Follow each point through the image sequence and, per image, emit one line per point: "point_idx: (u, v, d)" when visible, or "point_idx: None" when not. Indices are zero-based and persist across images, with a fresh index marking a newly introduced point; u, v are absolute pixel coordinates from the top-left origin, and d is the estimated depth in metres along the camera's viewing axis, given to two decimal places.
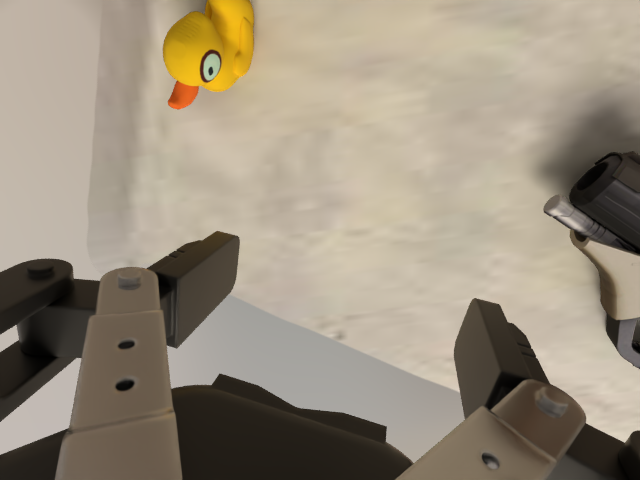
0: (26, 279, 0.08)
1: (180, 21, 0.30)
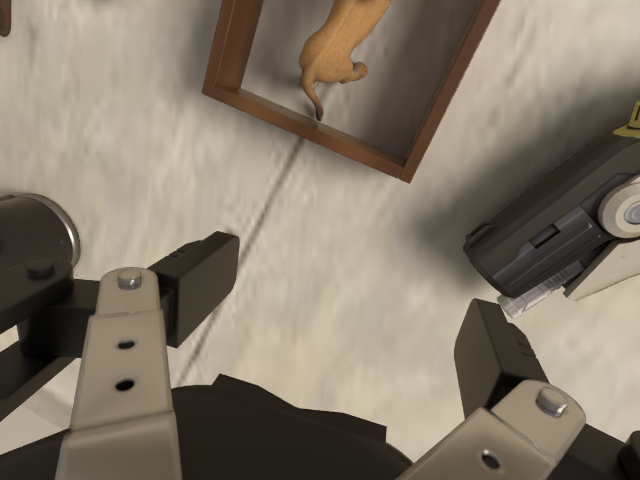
0: (27, 279, 0.08)
1: None
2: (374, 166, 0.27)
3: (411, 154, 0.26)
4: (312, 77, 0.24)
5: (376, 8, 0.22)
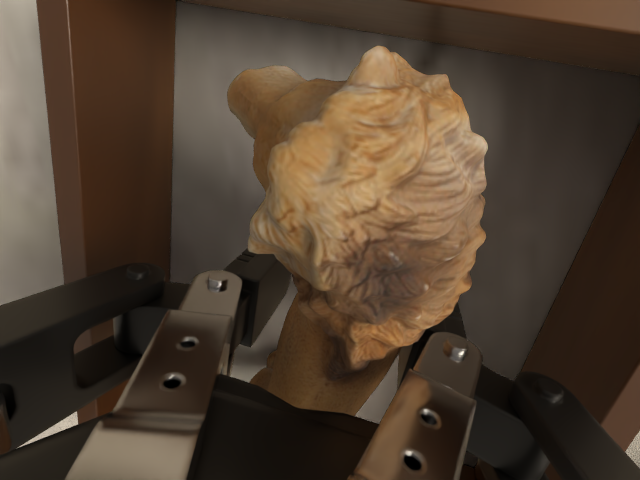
0: (124, 280, 0.09)
1: None
2: None
3: None
4: None
5: (378, 376, 0.09)
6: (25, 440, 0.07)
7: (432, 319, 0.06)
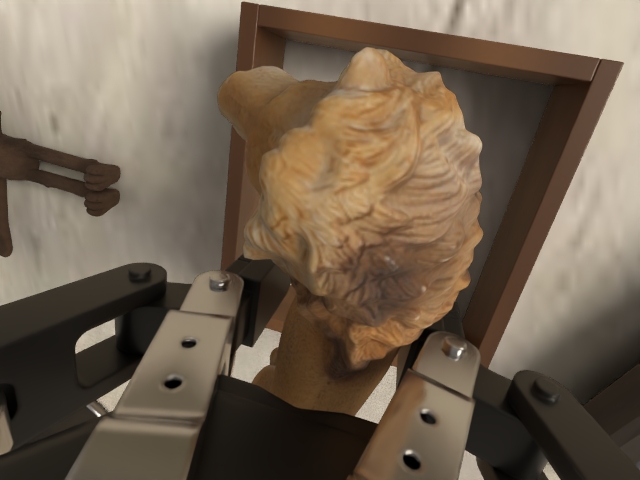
0: (125, 280, 0.09)
1: None
2: None
3: None
4: None
5: (380, 373, 0.09)
6: (27, 440, 0.07)
7: (431, 318, 0.06)
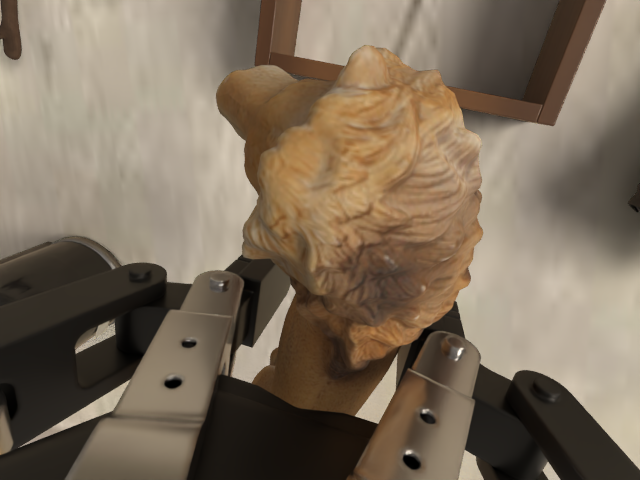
0: (126, 281, 0.09)
1: None
2: (500, 112, 0.20)
3: (553, 84, 0.19)
4: None
5: (380, 373, 0.09)
6: (27, 440, 0.07)
7: (431, 318, 0.06)
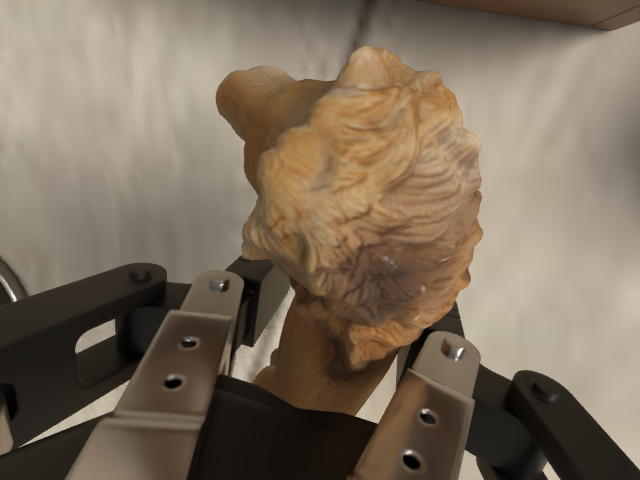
0: (126, 280, 0.09)
1: None
2: None
3: None
4: None
5: (380, 373, 0.09)
6: (27, 440, 0.07)
7: (431, 318, 0.06)
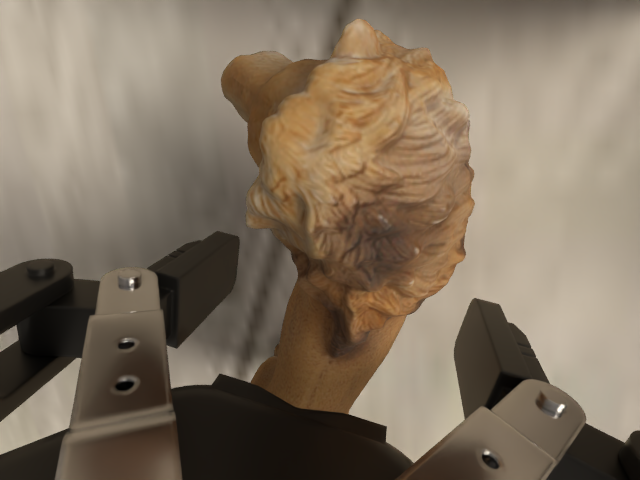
0: (26, 279, 0.08)
1: None
2: None
3: None
4: None
5: (380, 352, 0.09)
6: None
7: (426, 287, 0.06)
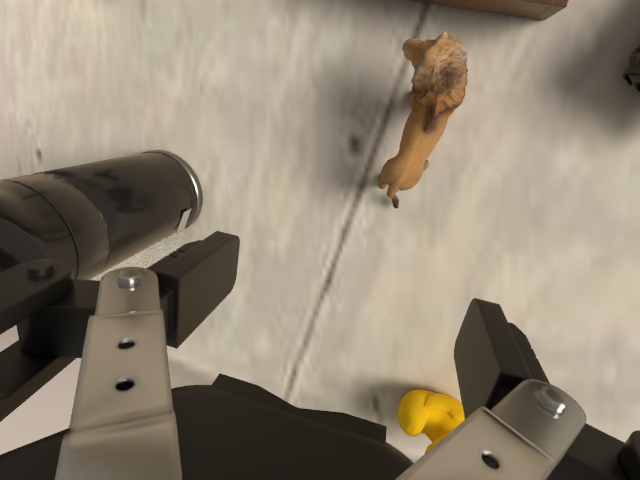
0: (26, 279, 0.08)
1: None
2: None
3: None
4: (397, 190, 0.31)
5: (438, 133, 0.29)
6: None
7: (455, 95, 0.26)
